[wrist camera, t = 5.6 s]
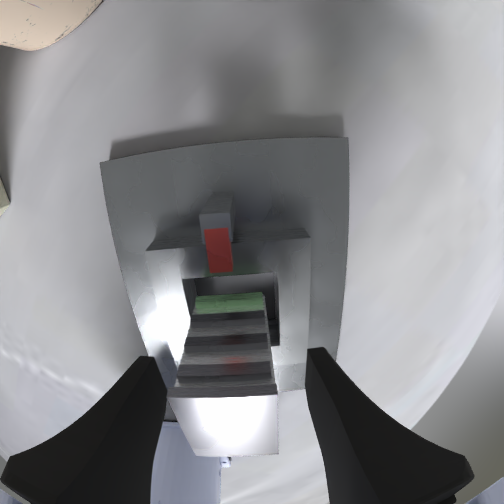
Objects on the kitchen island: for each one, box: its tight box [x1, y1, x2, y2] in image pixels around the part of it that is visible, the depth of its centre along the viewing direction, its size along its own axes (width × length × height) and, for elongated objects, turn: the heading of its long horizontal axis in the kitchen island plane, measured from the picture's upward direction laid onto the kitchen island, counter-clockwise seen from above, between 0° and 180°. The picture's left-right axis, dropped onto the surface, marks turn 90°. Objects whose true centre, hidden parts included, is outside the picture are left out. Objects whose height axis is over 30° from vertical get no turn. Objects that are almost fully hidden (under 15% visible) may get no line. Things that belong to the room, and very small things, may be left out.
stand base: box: [100, 137, 349, 393], centre depth 13 cm, size 16×12×5 cm
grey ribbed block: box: [167, 292, 279, 457], centre depth 10 cm, size 4×3×6 cm
